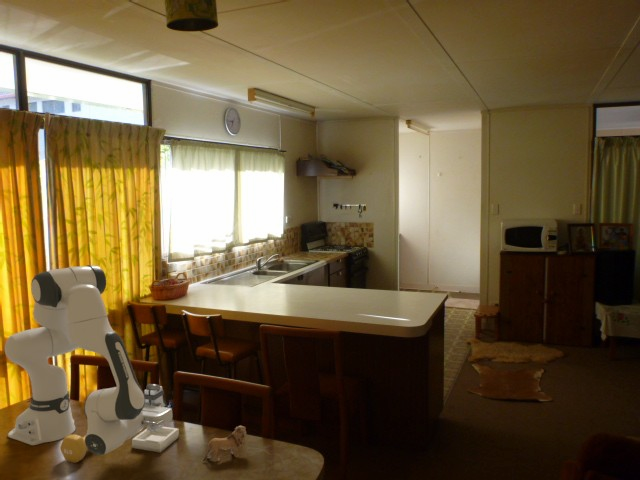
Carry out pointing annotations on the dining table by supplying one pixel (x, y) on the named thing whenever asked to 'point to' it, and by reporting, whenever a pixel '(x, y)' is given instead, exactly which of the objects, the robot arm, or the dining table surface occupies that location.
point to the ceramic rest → (155, 439)
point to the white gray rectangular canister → (153, 400)
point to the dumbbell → (73, 448)
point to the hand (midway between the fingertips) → (155, 404)
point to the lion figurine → (227, 443)
